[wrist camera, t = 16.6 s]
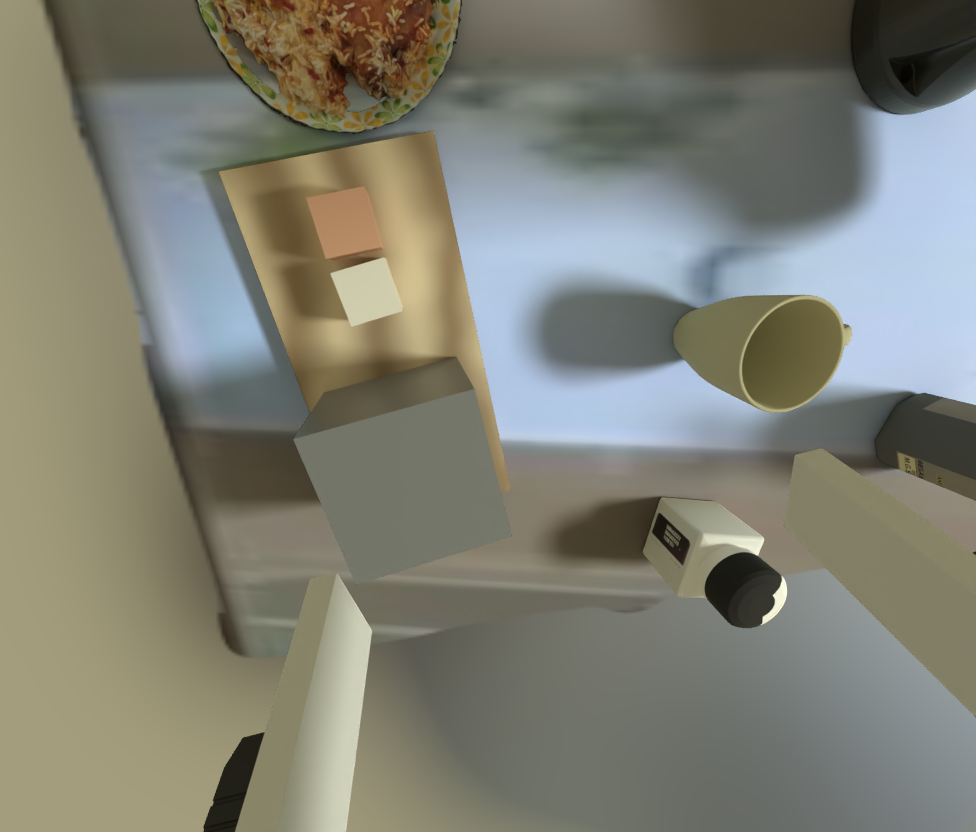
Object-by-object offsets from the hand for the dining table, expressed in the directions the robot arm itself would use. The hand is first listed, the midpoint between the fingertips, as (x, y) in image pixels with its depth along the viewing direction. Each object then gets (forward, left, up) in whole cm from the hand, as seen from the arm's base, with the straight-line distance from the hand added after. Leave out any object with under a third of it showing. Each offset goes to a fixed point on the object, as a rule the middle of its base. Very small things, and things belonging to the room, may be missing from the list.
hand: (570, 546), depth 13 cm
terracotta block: (+6, -12, -28) cm, 31 cm away
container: (-21, +27, -30) cm, 45 cm away
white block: (+6, -7, -28) cm, 30 cm away
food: (+3, -27, -31) cm, 41 cm away
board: (+6, -1, -30) cm, 31 cm away
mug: (-25, +4, -30) cm, 39 cm away
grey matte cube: (+6, +6, -28) cm, 30 cm away
